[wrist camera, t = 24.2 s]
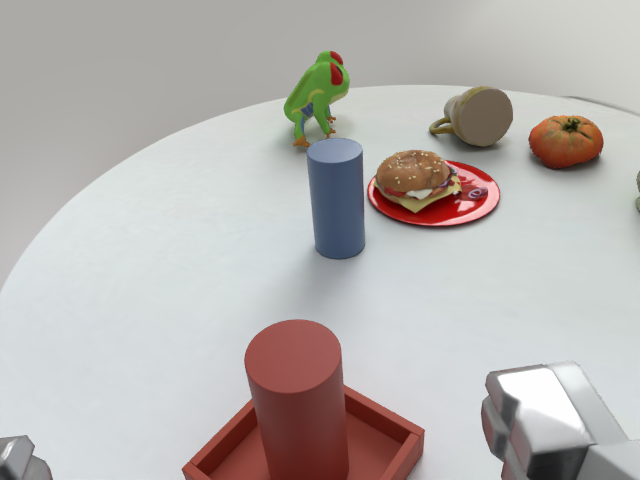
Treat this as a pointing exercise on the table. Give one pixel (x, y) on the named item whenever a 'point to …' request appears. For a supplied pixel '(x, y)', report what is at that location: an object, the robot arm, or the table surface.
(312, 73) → the toy
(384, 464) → the red tray
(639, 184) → the vessel
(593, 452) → the robot arm
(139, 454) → the table surface
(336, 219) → the blue canister
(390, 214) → the hamburger
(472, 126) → the mug
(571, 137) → the tomato
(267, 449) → the red canister
